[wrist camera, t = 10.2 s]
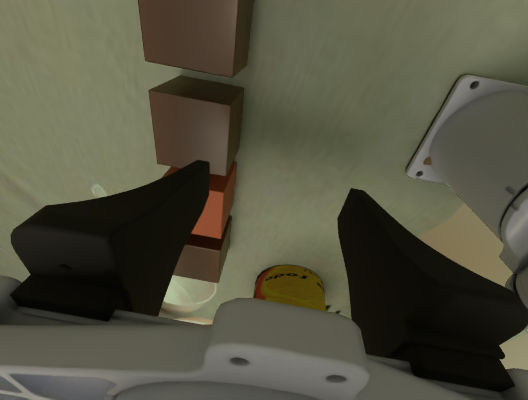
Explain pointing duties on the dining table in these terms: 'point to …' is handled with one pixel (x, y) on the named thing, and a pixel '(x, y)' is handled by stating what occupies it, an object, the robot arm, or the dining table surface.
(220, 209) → the terracotta block
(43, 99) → the dining table surface
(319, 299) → the beverage can
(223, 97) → the walnut block
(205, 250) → the walnut block
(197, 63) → the walnut block
